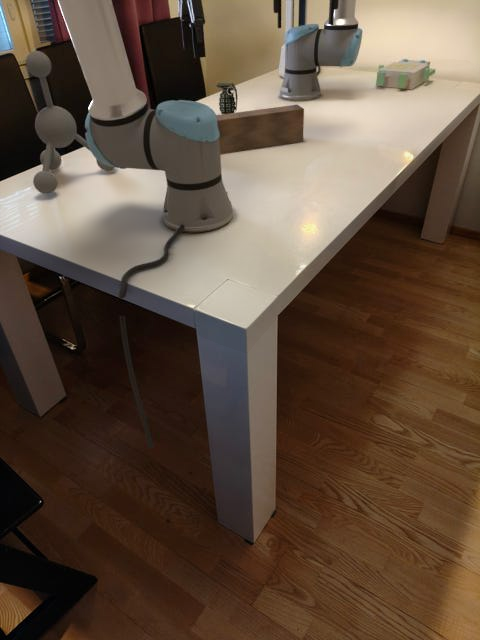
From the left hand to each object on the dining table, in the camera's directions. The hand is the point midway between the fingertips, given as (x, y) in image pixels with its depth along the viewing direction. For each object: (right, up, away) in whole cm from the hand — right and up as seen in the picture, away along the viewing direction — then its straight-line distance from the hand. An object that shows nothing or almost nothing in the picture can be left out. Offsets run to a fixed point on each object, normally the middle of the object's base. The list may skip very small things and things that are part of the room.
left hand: (194, 53), depth 125 cm
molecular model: (-32, -30, +6) cm, 44 cm away
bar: (+14, -18, +18) cm, 29 cm away
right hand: (+29, +9, +4) cm, 31 cm away
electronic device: (+36, +37, +87) cm, 101 cm away
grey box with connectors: (+76, +26, +69) cm, 106 cm away
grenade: (+8, +3, +45) cm, 45 cm away
